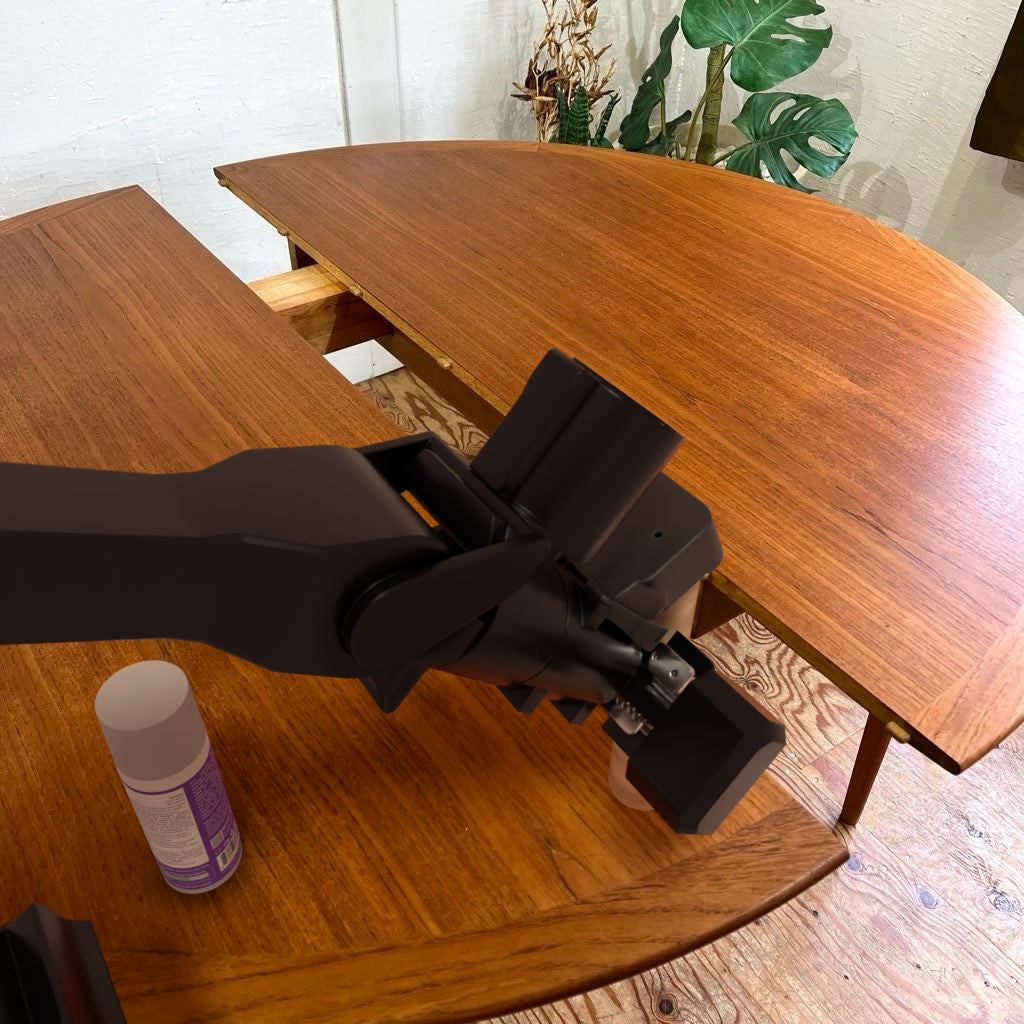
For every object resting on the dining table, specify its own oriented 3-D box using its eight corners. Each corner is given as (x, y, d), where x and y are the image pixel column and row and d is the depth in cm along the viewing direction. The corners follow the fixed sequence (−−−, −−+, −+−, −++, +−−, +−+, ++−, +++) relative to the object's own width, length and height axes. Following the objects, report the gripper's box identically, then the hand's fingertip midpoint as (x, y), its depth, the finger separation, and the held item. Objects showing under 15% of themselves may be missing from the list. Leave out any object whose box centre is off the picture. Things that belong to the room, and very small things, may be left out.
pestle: (669, 819, 55) (717, 580, 43) (601, 800, 56) (629, 561, 44) (681, 763, 58) (729, 524, 46) (616, 746, 59) (646, 508, 47)
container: (216, 807, 59) (161, 643, 50) (258, 857, 57) (209, 694, 47) (146, 856, 57) (74, 693, 47) (187, 910, 54) (120, 750, 45)
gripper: (802, 597, 33) (916, 670, 45) (498, 363, 45) (653, 470, 57) (607, 839, 35) (767, 848, 47) (363, 551, 46) (541, 617, 58)
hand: (676, 676), depth 52 cm, fingers closed on pestle, 2 cm apart
